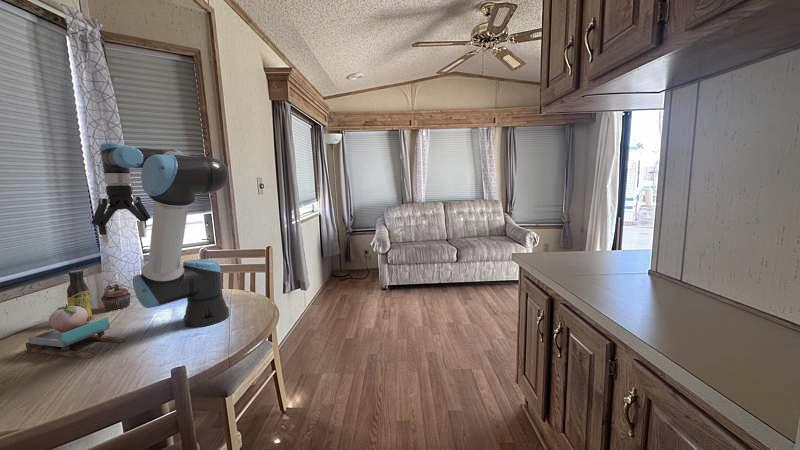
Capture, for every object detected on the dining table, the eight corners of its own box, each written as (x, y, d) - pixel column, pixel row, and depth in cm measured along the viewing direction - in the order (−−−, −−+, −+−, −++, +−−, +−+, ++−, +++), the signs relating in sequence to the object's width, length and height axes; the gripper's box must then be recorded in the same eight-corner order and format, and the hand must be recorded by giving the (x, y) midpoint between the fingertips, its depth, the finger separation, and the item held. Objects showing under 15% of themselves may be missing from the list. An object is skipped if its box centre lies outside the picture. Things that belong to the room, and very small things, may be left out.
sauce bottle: (78, 325, 123) (70, 273, 121) (65, 324, 125) (57, 273, 122) (97, 318, 130) (90, 269, 127) (85, 317, 131) (77, 268, 128)
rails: (126, 340, 110) (125, 331, 110) (86, 359, 98) (84, 349, 98) (71, 334, 115) (70, 326, 115) (26, 352, 104) (25, 343, 103)
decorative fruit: (97, 328, 110) (93, 299, 109) (68, 340, 102) (64, 309, 101) (75, 326, 112) (70, 298, 110) (45, 338, 104) (40, 307, 102)
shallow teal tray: (110, 334, 112) (108, 317, 111) (64, 353, 99) (61, 334, 99) (79, 331, 115) (76, 314, 114) (30, 349, 102) (27, 331, 102)
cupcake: (136, 305, 143) (134, 283, 142) (109, 313, 134) (106, 289, 133) (125, 302, 147) (122, 280, 146) (97, 309, 139) (94, 287, 137)
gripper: (142, 184, 138) (148, 234, 140) (72, 185, 113) (81, 245, 116) (157, 184, 136) (162, 234, 139) (89, 185, 112) (97, 246, 115)
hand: (125, 240), depth 127 cm, fingers open, 13 cm apart
